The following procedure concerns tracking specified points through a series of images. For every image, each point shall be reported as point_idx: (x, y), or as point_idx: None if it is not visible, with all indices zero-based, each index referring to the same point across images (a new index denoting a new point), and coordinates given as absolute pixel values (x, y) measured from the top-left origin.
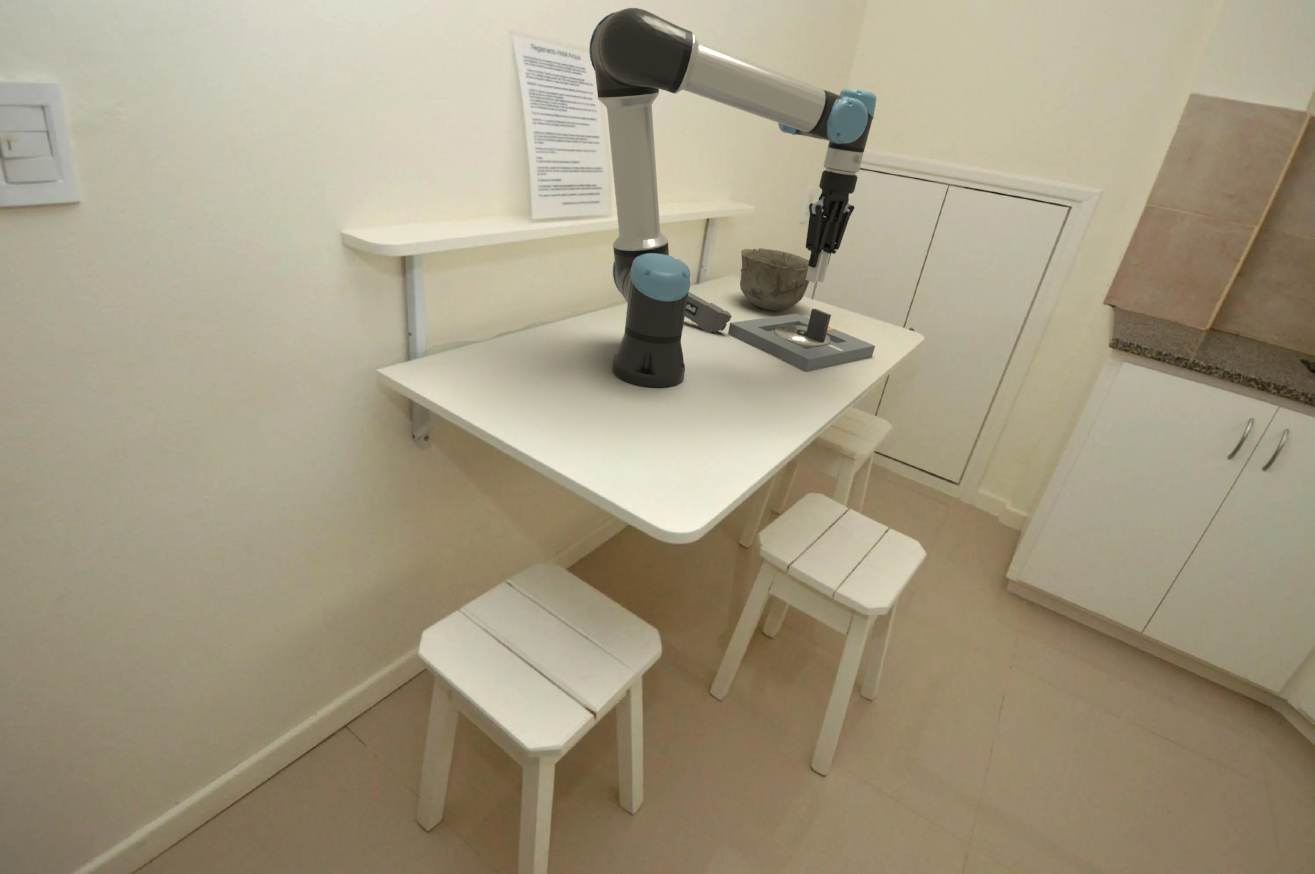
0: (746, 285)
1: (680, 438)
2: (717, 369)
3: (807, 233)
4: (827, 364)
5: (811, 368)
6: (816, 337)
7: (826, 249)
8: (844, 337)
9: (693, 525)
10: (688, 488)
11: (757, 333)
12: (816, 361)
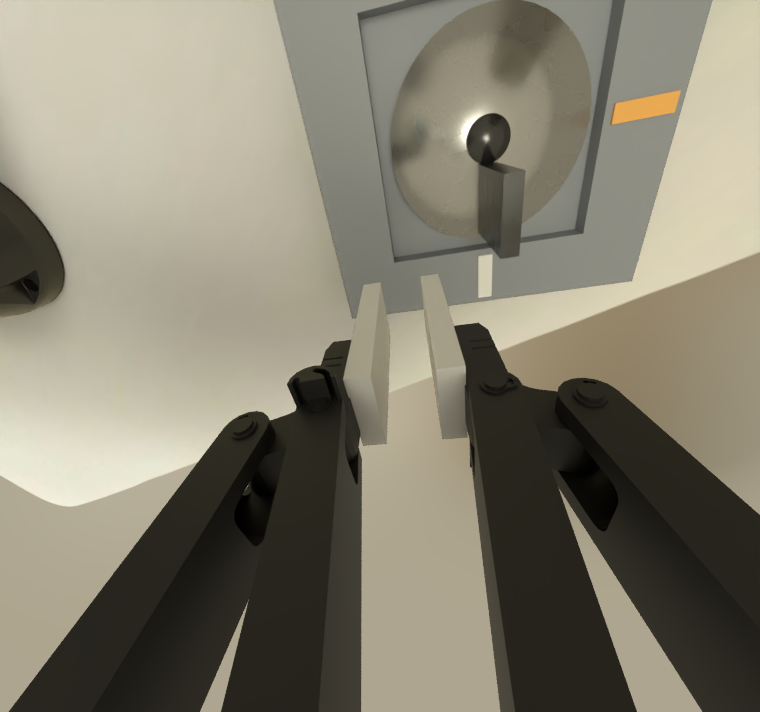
0: None
1: (60, 423)
2: (148, 252)
3: (137, 546)
4: None
5: None
6: (480, 212)
7: (470, 421)
8: (613, 200)
9: (71, 504)
10: (68, 479)
11: (314, 99)
12: None
